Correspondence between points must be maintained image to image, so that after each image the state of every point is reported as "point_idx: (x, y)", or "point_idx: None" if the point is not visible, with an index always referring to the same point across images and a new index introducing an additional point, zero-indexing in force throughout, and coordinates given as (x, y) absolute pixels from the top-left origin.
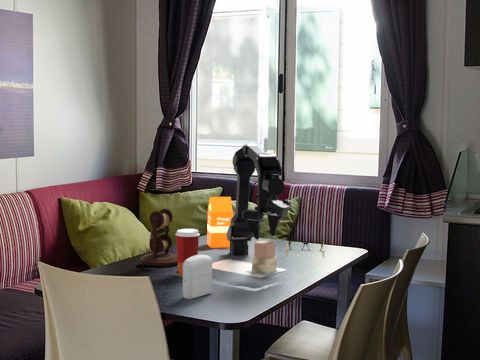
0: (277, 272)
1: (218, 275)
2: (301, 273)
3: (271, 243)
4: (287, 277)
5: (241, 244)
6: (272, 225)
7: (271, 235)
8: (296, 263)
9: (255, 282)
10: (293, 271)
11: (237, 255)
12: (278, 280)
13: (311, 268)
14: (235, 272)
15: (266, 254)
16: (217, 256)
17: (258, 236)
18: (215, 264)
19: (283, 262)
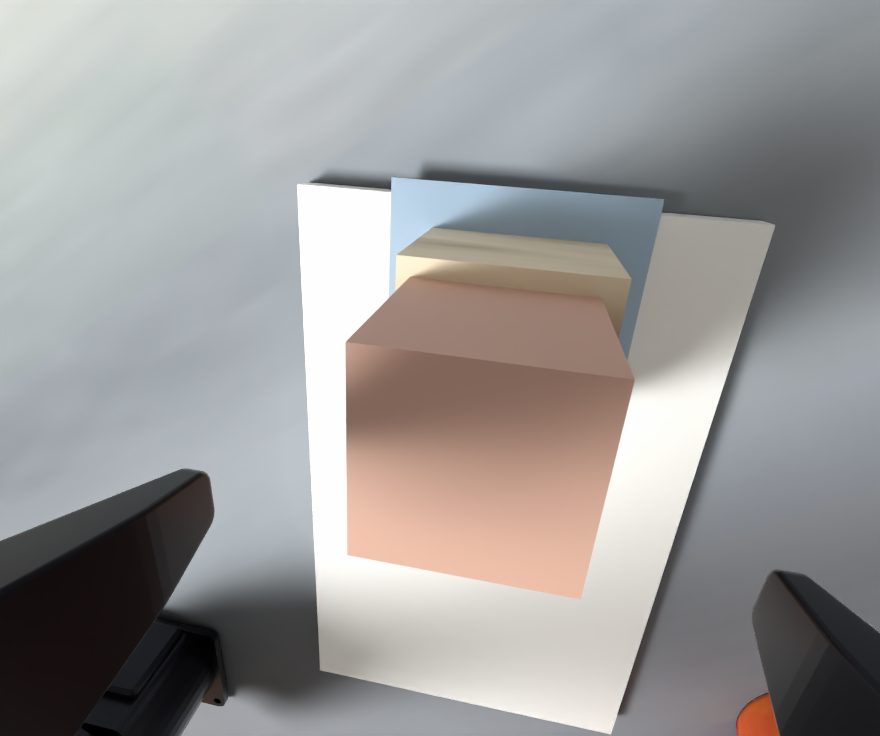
0: (470, 192)
1: (732, 572)
2: (242, 42)
3: (468, 355)
4: (476, 63)
5: (135, 716)
6: (13, 704)
7: (213, 517)
8: (12, 290)
9: (859, 220)
10: (234, 158)
11: (201, 661)
12: (654, 65)
13: (27, 82)
14: (673, 495)
15: (607, 316)
16: (262, 731)
17: (848, 622)
18: (507, 681)
19: (69, 383)
